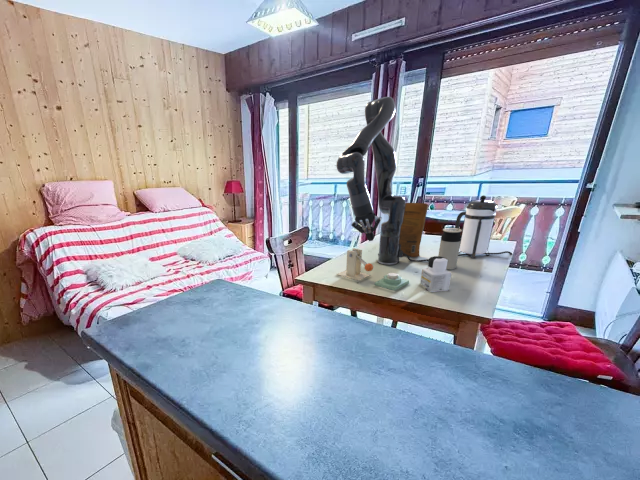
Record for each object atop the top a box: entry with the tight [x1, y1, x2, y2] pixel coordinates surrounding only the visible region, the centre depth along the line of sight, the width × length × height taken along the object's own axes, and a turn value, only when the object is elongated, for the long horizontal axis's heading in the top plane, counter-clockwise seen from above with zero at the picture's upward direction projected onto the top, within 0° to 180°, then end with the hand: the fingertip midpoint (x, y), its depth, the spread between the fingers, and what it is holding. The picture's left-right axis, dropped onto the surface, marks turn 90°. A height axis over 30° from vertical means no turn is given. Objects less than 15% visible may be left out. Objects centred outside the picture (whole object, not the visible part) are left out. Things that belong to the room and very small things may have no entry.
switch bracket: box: [336, 248, 371, 281], centre depth 148 cm, size 12×9×13 cm
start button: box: [387, 272, 399, 279], centre depth 136 cm, size 4×4×2 cm
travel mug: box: [437, 227, 462, 270], centre depth 152 cm, size 8×8×18 cm
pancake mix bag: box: [399, 202, 429, 258], centre depth 171 cm, size 7×19×28 cm, turn 43°
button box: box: [374, 274, 410, 291], centre depth 137 cm, size 11×9×4 cm
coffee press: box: [454, 194, 498, 259], centre depth 165 cm, size 17×16×30 cm
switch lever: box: [352, 249, 374, 272], centre depth 144 cm, size 12×4×4 cm
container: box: [419, 255, 452, 293], centre depth 131 cm, size 8×8×13 cm
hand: (371, 240), depth 140 cm, fingers closed
